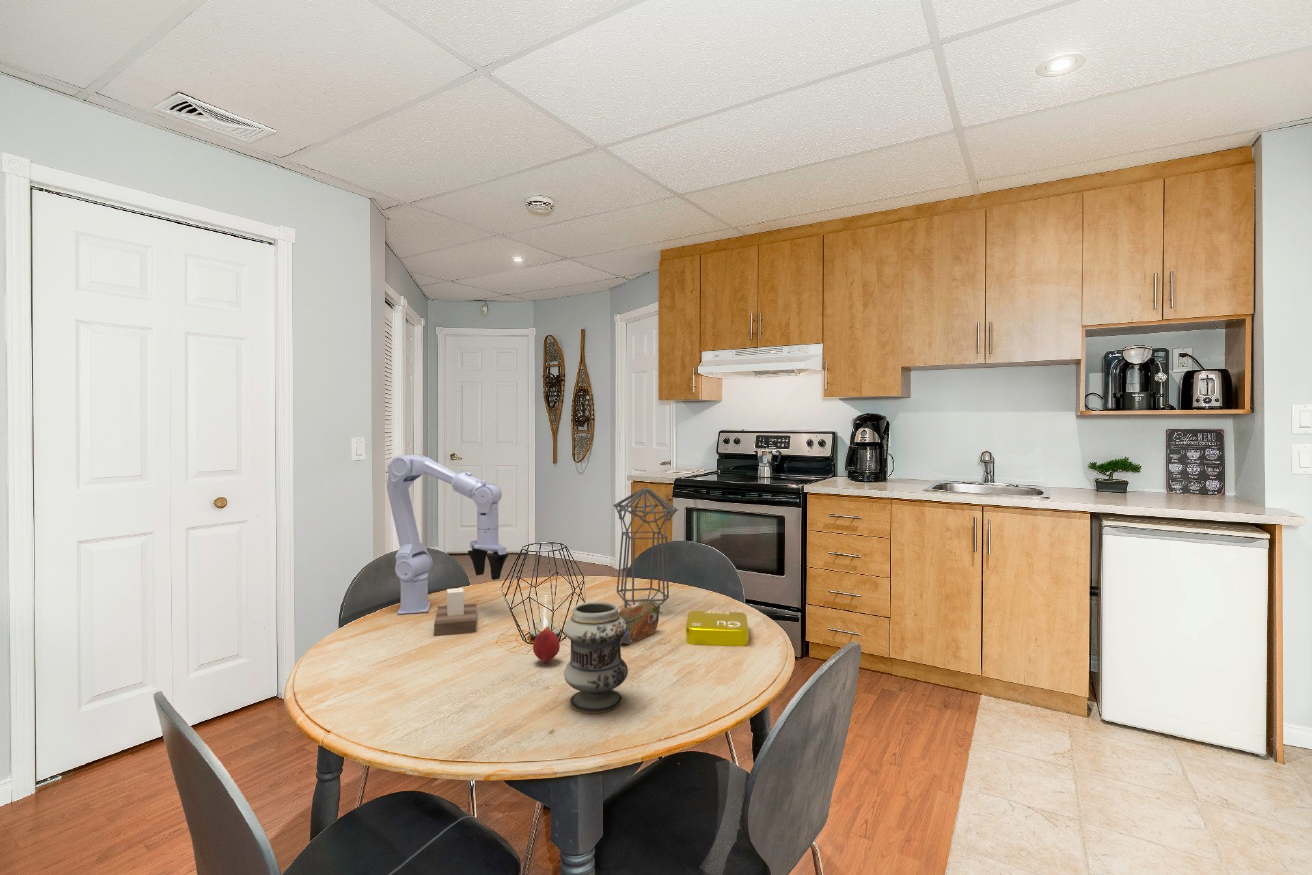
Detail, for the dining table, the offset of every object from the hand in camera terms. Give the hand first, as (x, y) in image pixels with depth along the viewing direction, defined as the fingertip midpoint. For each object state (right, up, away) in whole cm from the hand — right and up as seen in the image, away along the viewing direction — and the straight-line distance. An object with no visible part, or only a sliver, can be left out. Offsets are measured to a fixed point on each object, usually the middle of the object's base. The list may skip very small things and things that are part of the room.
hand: (487, 576), depth 170 cm
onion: (+23, -11, -35) cm, 43 cm away
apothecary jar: (+35, -11, -54) cm, 66 cm away
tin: (+42, -11, -19) cm, 47 cm away
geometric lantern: (+44, -11, +4) cm, 45 cm away
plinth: (-6, -11, -9) cm, 15 cm away
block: (-6, -8, -9) cm, 13 cm away
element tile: (+62, -12, -16) cm, 65 cm away
